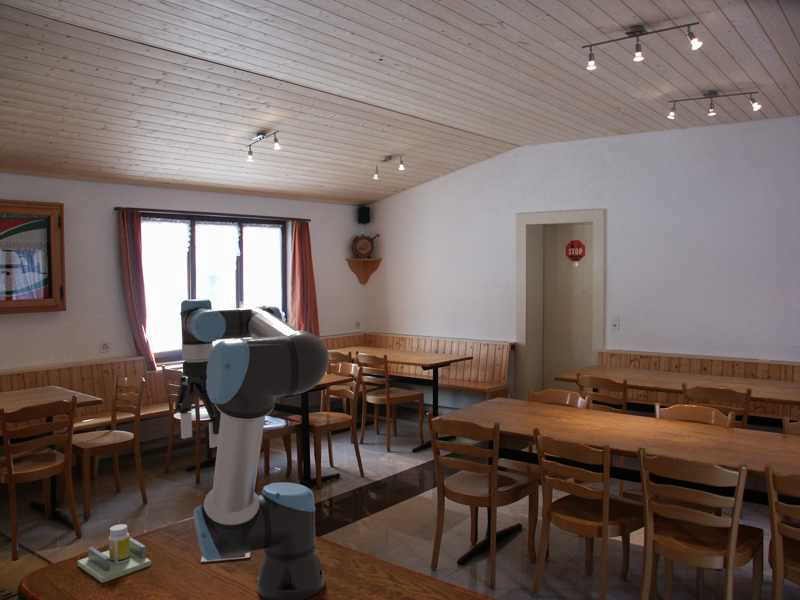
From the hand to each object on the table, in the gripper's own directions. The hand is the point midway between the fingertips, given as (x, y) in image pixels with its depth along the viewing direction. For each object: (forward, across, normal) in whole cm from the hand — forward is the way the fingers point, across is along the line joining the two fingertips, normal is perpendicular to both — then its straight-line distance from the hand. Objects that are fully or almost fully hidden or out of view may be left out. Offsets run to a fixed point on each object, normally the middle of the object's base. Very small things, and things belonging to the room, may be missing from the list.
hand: (200, 442), depth 170 cm
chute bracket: (+27, +11, +18) cm, 34 cm away
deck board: (+29, +10, +19) cm, 36 cm away
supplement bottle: (+28, +9, +18) cm, 34 cm away
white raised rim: (+29, -5, -4) cm, 30 cm away
